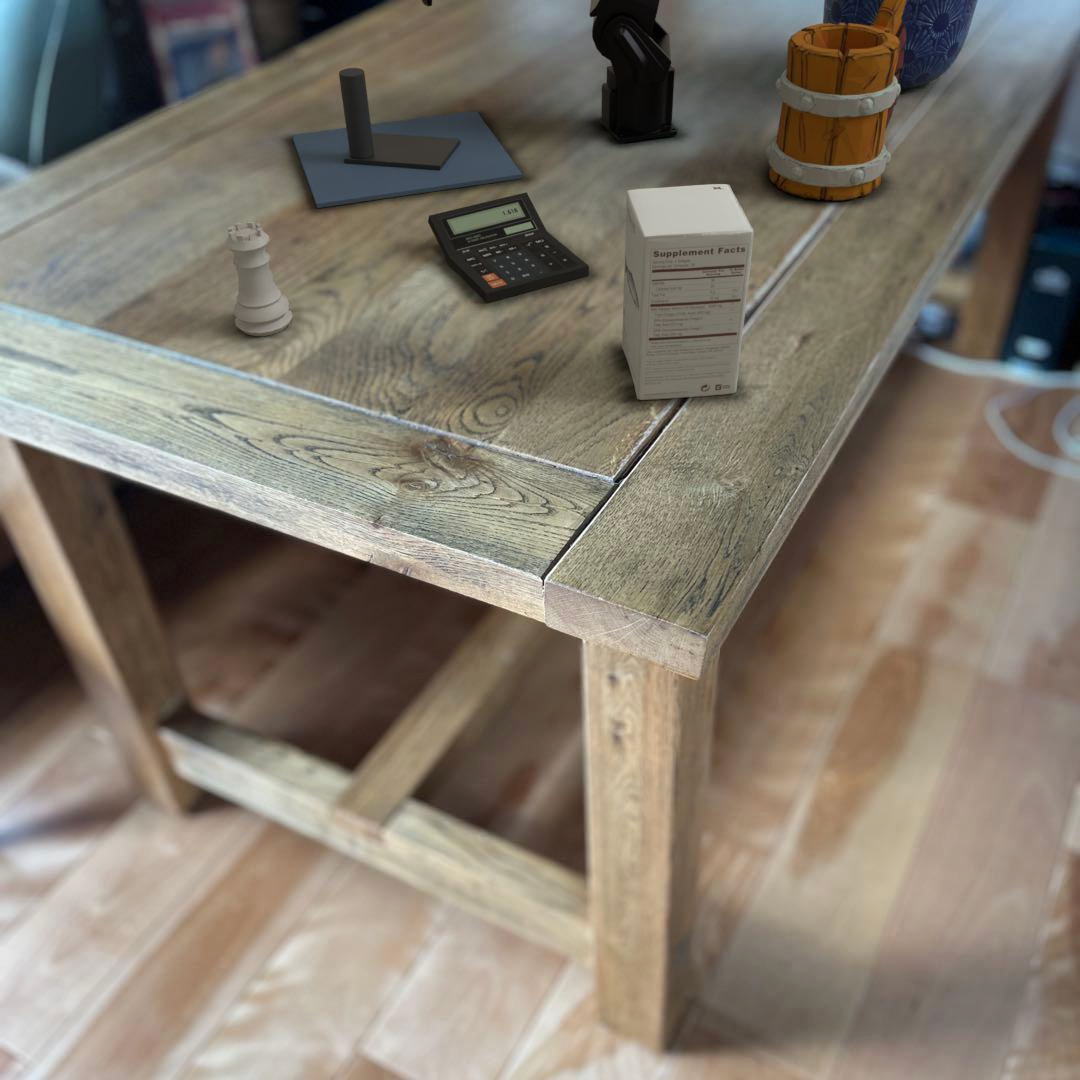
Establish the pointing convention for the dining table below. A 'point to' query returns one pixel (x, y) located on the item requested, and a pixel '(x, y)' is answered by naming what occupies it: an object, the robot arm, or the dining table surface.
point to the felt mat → (358, 183)
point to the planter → (916, 32)
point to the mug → (838, 106)
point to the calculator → (504, 248)
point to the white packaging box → (685, 290)
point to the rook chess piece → (256, 283)
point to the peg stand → (385, 146)
